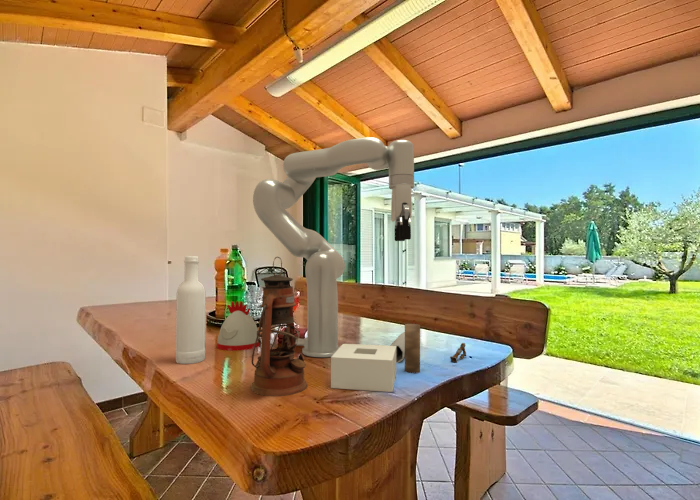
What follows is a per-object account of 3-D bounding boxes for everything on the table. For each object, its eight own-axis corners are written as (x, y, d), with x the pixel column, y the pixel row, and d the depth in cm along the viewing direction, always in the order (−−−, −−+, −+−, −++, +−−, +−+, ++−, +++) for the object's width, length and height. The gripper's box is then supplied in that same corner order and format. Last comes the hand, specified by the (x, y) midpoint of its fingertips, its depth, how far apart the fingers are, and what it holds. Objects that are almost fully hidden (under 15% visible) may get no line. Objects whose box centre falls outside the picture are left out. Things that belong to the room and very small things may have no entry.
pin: (404, 372, 100) (404, 326, 100) (404, 368, 104) (405, 323, 104) (420, 373, 99) (420, 326, 100) (420, 369, 103) (420, 324, 104)
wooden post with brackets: (469, 354, 116) (466, 341, 115) (458, 370, 111) (455, 357, 109) (463, 353, 117) (461, 340, 116) (452, 369, 112) (449, 356, 111)
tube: (397, 332, 135) (382, 347, 111) (412, 328, 134) (400, 342, 110) (402, 347, 134) (388, 365, 111) (417, 343, 133) (406, 361, 109)
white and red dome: (232, 340, 138) (232, 298, 139) (267, 342, 135) (267, 299, 135) (208, 349, 125) (208, 302, 125) (246, 352, 121) (246, 304, 122)
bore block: (330, 387, 88) (331, 357, 88) (343, 370, 102) (343, 343, 102) (392, 392, 86) (392, 360, 86) (396, 373, 99) (396, 346, 100)
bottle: (170, 360, 111) (171, 256, 112) (197, 355, 117) (198, 256, 117) (182, 365, 106) (184, 256, 106) (210, 360, 111) (211, 256, 112)
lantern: (290, 402, 80) (291, 256, 80) (234, 396, 83) (235, 256, 83) (318, 377, 96) (318, 256, 97) (270, 373, 99) (271, 256, 100)
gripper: (385, 188, 124) (386, 241, 124) (392, 177, 107) (393, 238, 106) (408, 188, 124) (409, 241, 124) (419, 176, 107) (420, 238, 107)
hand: (402, 240), depth 115 cm, fingers open, 9 cm apart
